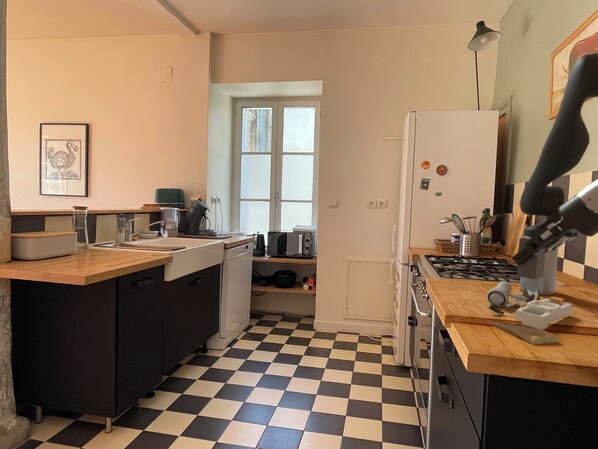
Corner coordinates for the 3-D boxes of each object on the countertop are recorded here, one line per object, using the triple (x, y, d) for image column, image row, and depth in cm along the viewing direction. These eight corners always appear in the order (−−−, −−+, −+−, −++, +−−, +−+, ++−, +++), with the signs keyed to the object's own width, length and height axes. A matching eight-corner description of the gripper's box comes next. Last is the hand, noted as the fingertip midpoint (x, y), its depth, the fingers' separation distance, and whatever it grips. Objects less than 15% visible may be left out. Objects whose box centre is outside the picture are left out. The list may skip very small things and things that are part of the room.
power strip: (549, 307, 97) (550, 293, 97) (574, 313, 92) (576, 298, 92) (515, 322, 84) (516, 305, 84) (542, 330, 80) (543, 312, 79)
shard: (491, 327, 82) (492, 319, 82) (520, 325, 84) (521, 318, 84) (530, 346, 72) (531, 338, 72) (563, 344, 73) (563, 336, 73)
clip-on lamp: (527, 334, 86) (542, 302, 98) (531, 310, 84) (546, 281, 96) (475, 317, 93) (495, 290, 106) (477, 295, 91) (497, 270, 104)
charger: (524, 274, 78) (527, 236, 77) (543, 277, 75) (546, 238, 74) (516, 276, 75) (519, 237, 75) (535, 279, 73) (538, 239, 72)
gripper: (592, 192, 72) (521, 245, 83) (567, 190, 64) (492, 249, 74) (625, 220, 68) (546, 272, 79) (602, 222, 60) (518, 279, 70)
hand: (520, 260), depth 76 cm, fingers closed on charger, 4 cm apart
